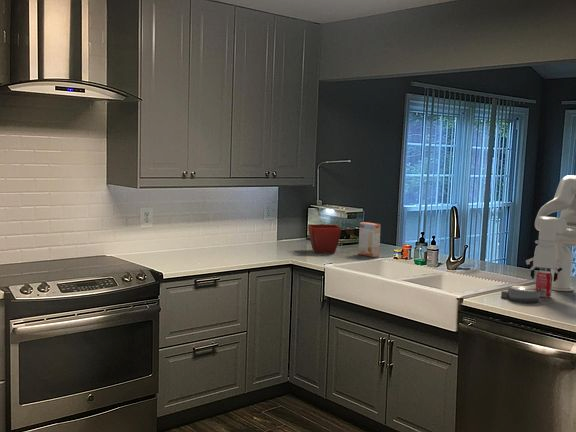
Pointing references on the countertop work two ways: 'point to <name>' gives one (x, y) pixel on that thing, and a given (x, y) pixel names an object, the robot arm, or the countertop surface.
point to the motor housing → (522, 294)
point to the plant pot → (324, 238)
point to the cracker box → (369, 239)
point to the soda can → (544, 283)
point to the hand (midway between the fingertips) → (543, 279)
